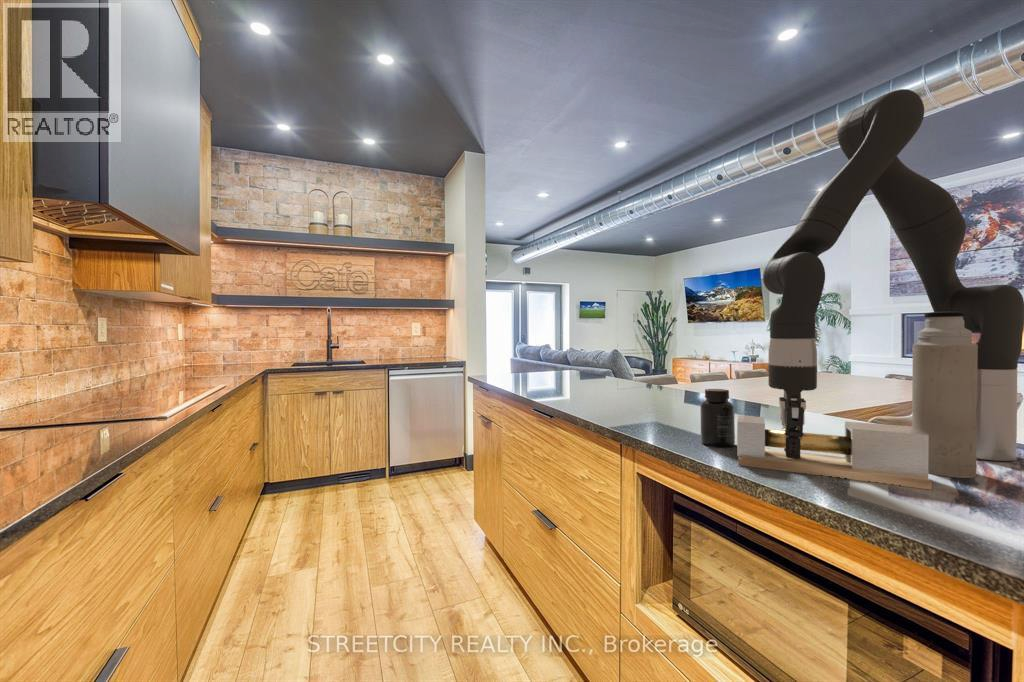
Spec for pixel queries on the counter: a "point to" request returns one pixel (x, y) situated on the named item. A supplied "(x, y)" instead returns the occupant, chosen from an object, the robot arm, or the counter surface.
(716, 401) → the supplement bottle
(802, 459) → the base board
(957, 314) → the thermos bottle
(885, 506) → the counter surface
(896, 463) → the sleeve socket
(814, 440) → the tube
